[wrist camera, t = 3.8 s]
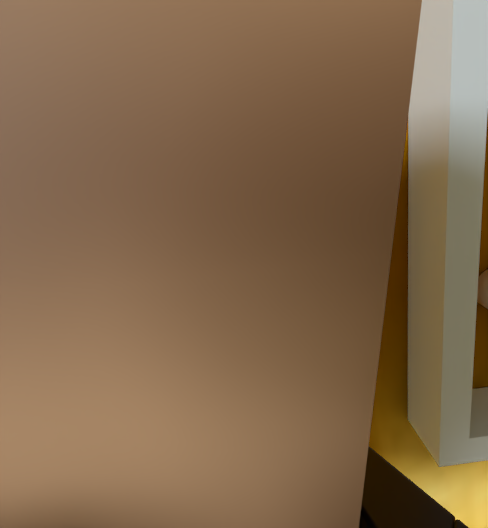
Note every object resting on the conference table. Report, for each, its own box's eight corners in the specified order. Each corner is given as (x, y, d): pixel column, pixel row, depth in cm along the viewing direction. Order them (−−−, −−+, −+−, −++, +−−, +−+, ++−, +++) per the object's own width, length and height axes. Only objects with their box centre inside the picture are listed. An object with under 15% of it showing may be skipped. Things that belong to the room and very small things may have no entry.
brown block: (281, 628, 12) (314, 890, 8) (106, 638, 12) (45, 917, 8) (311, 63, 8) (423, -17, 4) (35, 57, 8) (-197, -38, 3)
